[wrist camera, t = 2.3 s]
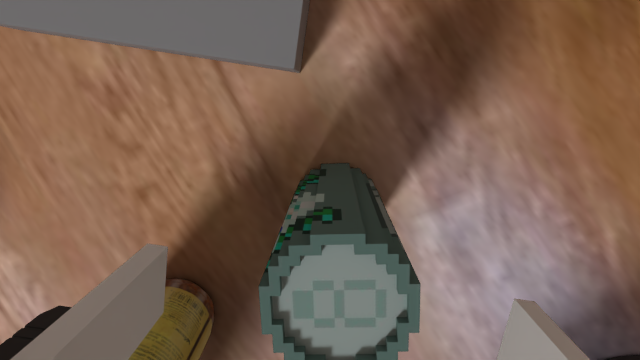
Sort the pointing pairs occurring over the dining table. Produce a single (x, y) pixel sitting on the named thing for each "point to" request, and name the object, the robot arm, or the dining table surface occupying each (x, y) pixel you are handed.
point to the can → (339, 274)
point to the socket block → (176, 26)
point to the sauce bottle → (179, 324)
